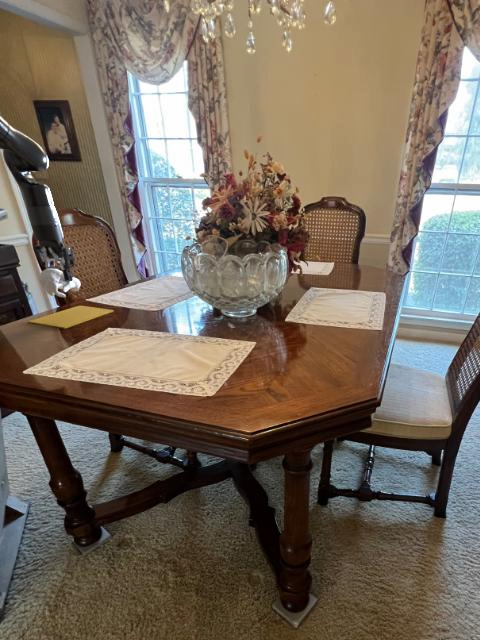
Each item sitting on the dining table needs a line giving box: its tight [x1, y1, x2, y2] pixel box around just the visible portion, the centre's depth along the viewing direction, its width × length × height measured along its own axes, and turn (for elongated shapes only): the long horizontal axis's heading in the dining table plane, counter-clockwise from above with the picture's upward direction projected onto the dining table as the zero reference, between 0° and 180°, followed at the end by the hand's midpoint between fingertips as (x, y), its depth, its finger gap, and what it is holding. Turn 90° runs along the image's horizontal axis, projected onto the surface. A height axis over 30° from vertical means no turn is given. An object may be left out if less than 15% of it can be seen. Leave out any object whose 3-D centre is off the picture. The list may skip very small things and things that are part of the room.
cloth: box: [27, 305, 115, 329], centre depth 127 cm, size 20×16×1 cm
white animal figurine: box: [39, 268, 81, 298], centre depth 122 cm, size 6×8×12 cm
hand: (62, 280), depth 121 cm, fingers closed on white animal figurine, 5 cm apart
